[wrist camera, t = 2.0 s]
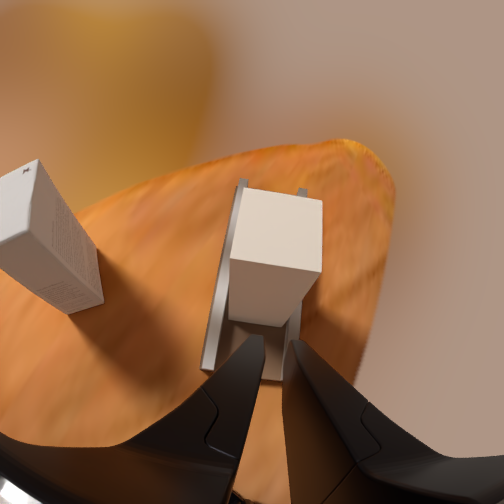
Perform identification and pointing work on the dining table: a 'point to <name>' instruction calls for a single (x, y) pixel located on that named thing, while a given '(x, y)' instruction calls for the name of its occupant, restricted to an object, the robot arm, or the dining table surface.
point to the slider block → (273, 256)
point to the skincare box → (46, 242)
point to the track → (235, 332)
